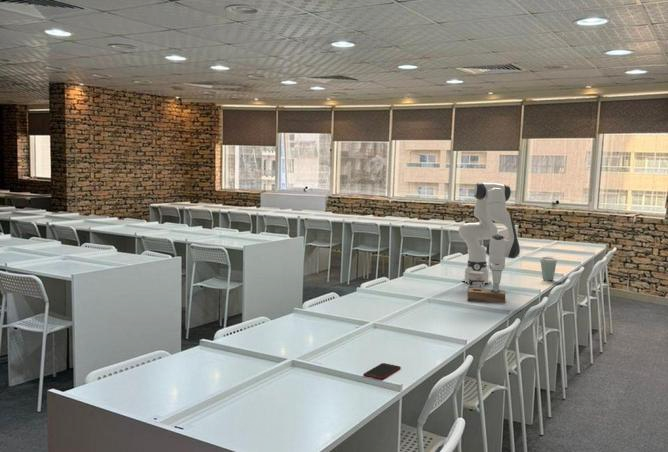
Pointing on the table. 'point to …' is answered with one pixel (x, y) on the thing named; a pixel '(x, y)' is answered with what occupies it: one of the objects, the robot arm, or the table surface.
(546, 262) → the disposable coffee cup
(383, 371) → the cell phone
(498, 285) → the pin
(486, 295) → the block
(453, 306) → the table surface
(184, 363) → the table surface
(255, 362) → the table surface
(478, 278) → the ink box
